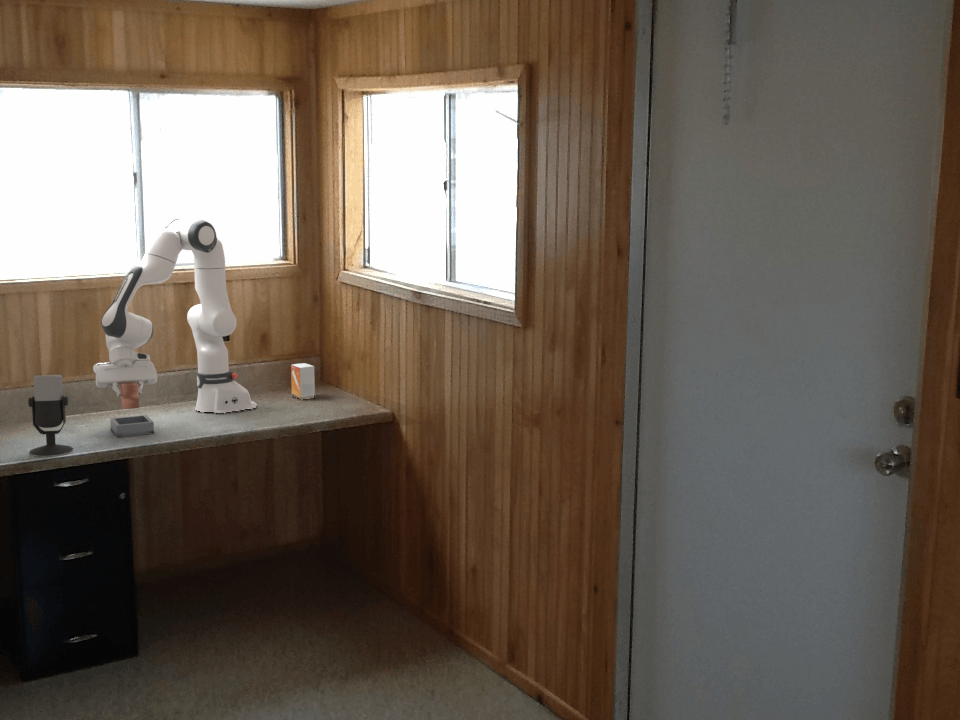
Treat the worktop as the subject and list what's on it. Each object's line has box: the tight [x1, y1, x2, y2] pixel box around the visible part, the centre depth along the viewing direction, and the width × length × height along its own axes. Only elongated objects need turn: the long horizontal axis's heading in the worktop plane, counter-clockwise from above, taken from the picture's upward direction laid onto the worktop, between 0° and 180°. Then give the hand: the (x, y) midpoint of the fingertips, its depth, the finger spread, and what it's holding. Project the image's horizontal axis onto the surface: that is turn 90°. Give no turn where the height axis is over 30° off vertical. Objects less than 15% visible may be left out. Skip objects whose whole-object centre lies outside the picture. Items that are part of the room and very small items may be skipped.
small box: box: [290, 362, 316, 397], centre depth 443 cm, size 8×6×13 cm
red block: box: [119, 382, 140, 410], centre depth 387 cm, size 5×5×8 cm
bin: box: [109, 414, 155, 438], centre depth 389 cm, size 12×12×4 cm
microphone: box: [27, 374, 74, 457], centre depth 361 cm, size 13×13×25 cm
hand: (129, 394), depth 387 cm, fingers closed on red block, 5 cm apart
